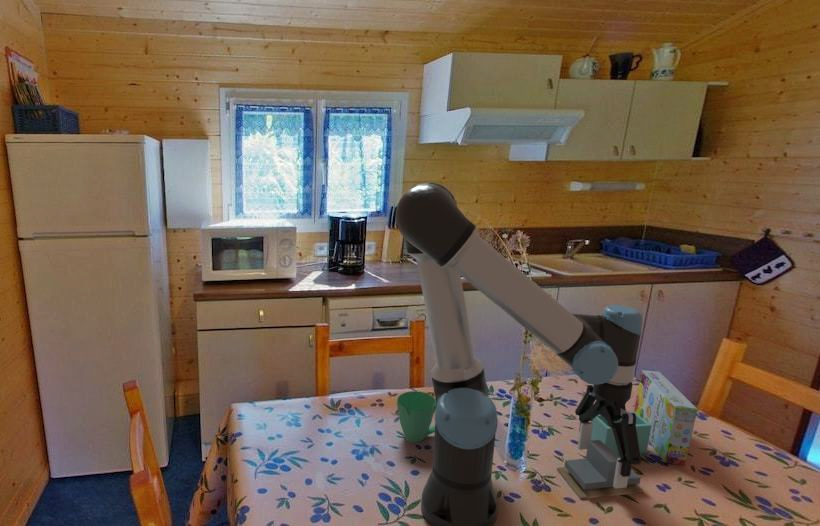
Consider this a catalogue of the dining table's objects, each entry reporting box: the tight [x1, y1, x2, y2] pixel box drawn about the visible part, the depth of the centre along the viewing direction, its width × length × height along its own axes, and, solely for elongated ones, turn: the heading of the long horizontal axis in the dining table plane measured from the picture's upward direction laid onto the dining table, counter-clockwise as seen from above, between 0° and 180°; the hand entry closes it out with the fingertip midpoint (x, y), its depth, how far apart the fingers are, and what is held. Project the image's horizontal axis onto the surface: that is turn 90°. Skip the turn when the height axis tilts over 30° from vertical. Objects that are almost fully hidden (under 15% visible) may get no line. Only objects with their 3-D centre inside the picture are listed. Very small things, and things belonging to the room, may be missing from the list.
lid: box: [564, 440, 641, 490], centre depth 104 cm, size 14×8×7 cm, turn 102°
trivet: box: [556, 466, 644, 500], centre depth 105 cm, size 15×10×1 cm, turn 102°
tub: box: [590, 411, 651, 457], centre depth 117 cm, size 12×6×8 cm, turn 102°
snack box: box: [633, 369, 698, 466], centre depth 121 cm, size 21×6×15 cm, turn 175°
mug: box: [396, 390, 436, 443], centre depth 118 cm, size 15×10×10 cm
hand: (600, 466), depth 104 cm, fingers open, 13 cm apart
